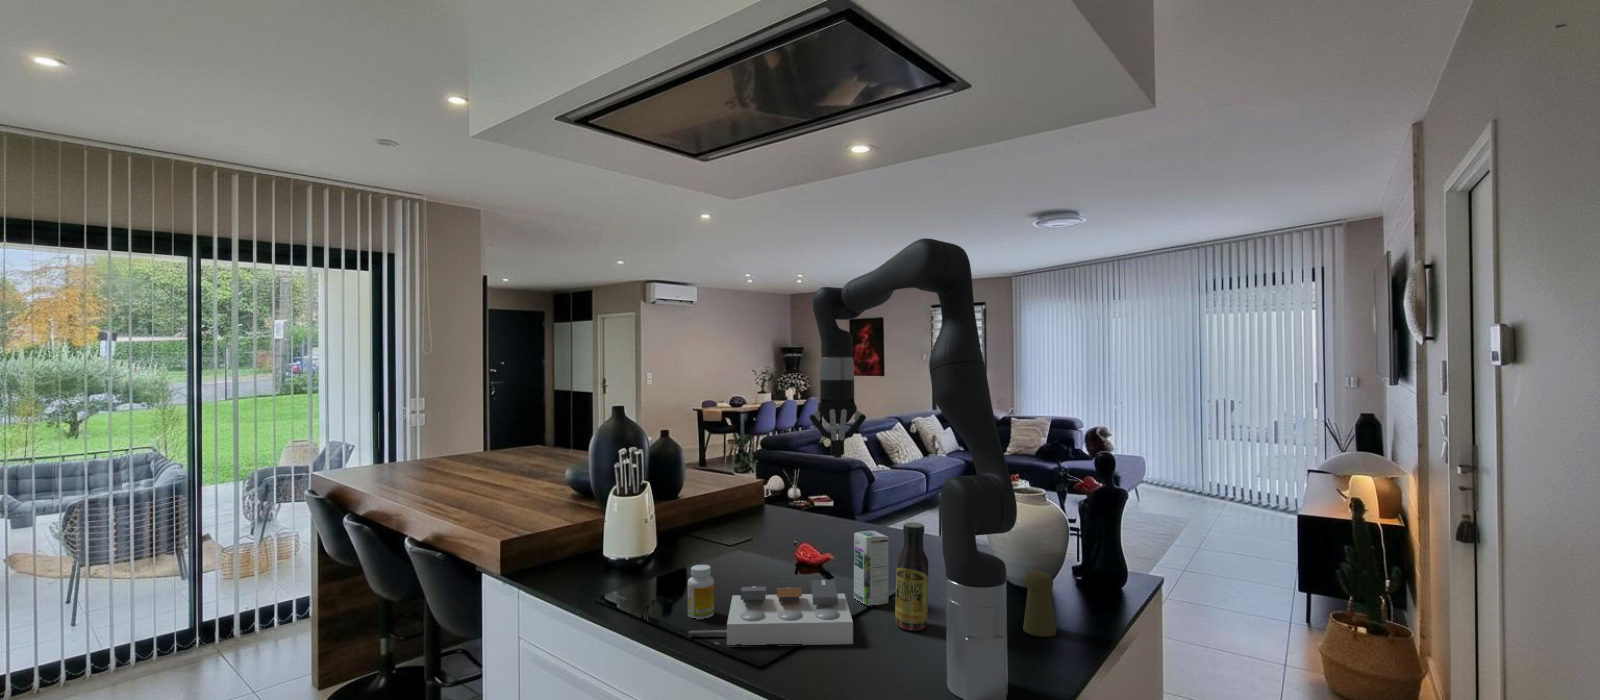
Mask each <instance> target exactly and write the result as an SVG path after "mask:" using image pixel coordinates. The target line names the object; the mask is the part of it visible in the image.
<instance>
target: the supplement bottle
mask: <svg viewBox="0 0 1600 700" xmlns="http://www.w3.org/2000/svg"><path fill="white" fill-rule="evenodd" d="M711 569H712V568H711V566H710V565H708V564H696V565H693V566H692V567H691V568H690V574H691V577H690V578H688V580H687V616H688V617H689V618H690V617H691V618H690V619H692V618H696V619H695V620H705V619H704V618H707V619H709V618H711V617H713V616H714V614H715V579H714V578H713V577H712V576H711V573H712V571H711Z"/></svg>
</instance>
